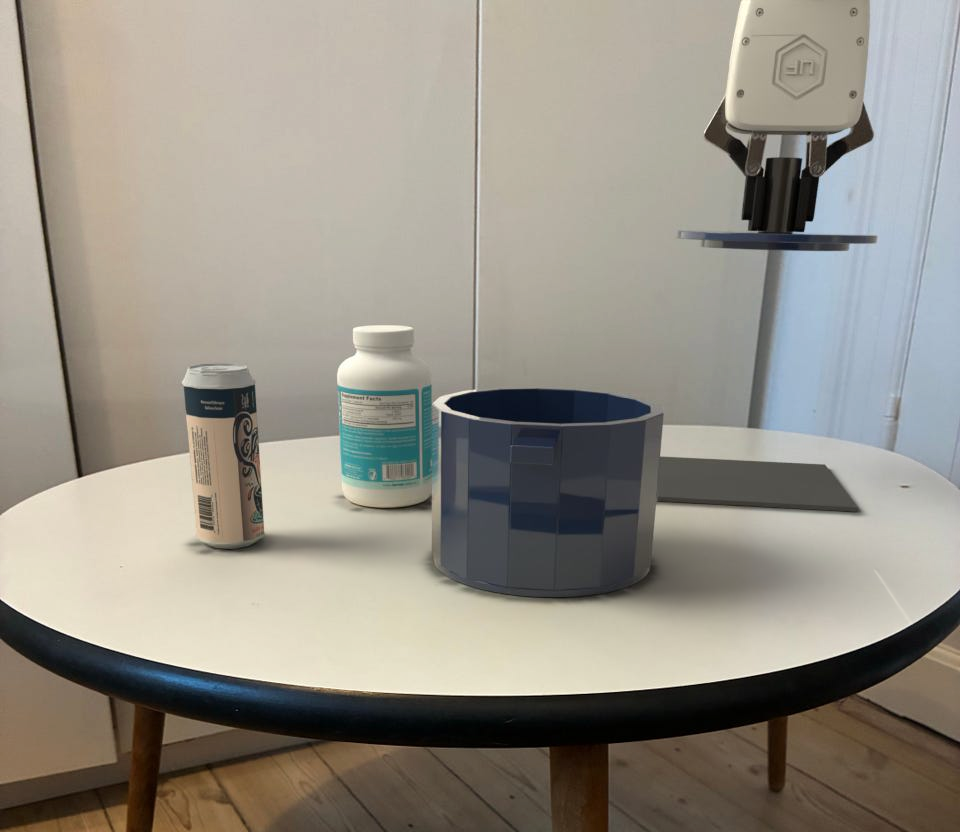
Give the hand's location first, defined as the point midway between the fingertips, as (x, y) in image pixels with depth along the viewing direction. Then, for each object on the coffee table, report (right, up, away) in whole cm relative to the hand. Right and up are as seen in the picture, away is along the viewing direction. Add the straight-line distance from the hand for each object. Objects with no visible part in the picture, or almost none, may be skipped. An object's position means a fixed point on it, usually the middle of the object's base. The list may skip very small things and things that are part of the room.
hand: (775, 229), depth 83 cm
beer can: (-42, -27, -11) cm, 51 cm away
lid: (0, -1, 0) cm, 1 cm away
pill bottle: (-32, -22, +1) cm, 39 cm away
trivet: (0, -20, +8) cm, 21 cm away
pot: (-20, -28, -14) cm, 37 cm away
